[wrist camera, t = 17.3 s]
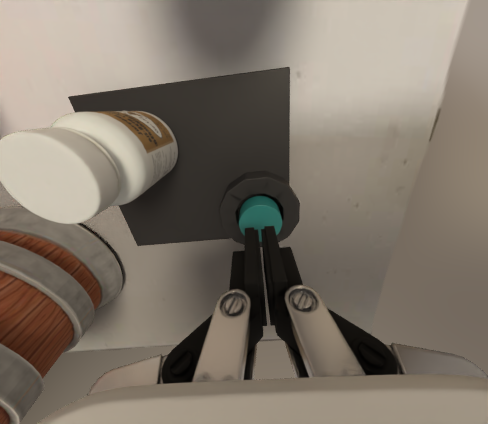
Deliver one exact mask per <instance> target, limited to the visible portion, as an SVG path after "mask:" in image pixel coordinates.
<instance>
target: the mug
mask: <svg viewBox="0 0 488 424" xmlns="http://www.w3.org/2000/svg"><path fill="white" fill-rule="evenodd" d="M122 284H123V283H122V272H121V269H120V266H119V263H118V261H117V259H116V257H115V256H114V254H113V252H112V251H111V250H110V249H109V247H108V246H107V245H106V244H105V243H104V242H103V241H102V240H101V239H100V238H99V237H98V236H96V235H95V234H94V233H92V232H91V231H90V230H88V229H87V228H85V227H84V226H82V225H80V224H78V223H77V224H64V223H57V222H54V221H50V220H47V219H45V218H42V217H40V216H38V215H36V214H34V213H33V212H31V211H29V210H28V209H26V208H25V207H8V208H1V209H0V424H19V423H20V422H21V420H22V419H23V418H24V416H25V415H26V413H27V412H28V410H29V409H30V408H31V407H32V405H33V404H34V402H35V401H36V399H37V398H38V397H39V396H40V394H41V393H42V391H43V390H44V381H43V377H44V376H45V375H46V374H47V372H48V371H49V370H50V368H51V367H52V366H53V364H54V363H55V362H56V360H57V359H58V357H59V356H60V355H61V354H62V353H63V352H66V351H69V350H70V349H72V348H73V347H75V346H76V344H77V343H78V342H79V340H80V339H81V338H82V336H83V335H84V333H85V332H86V331H87V329H88V328H89V326H90V325H91V324H92V322H93V320H94V316H95V312H94V311H95V310H96V309H98V308H100V307H102V306H103V305H105V304H107V303H109V302H110V301H112V300H113V299H114V298H116V296H117V295H118V294H119V292H120V290H121V287H122Z"/></svg>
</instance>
